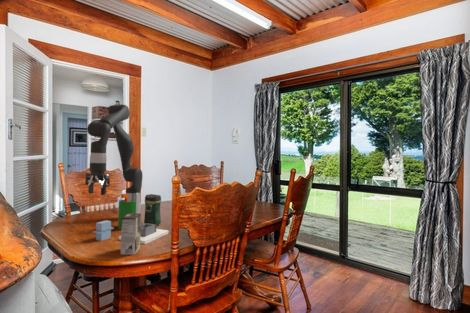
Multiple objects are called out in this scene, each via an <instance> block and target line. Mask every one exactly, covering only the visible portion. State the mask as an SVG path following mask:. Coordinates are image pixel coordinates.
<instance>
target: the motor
mask: <svg viewBox="0 0 470 313" xmlns="http://www.w3.org/2000/svg"><path fill="white" fill-rule="evenodd" d="M127 213H136V201H133V202H129V200H128V195H127V194H126V193H122V194H121V199H120V200H119V201H118V215H117V216H118V218H117V229H119V230H121V223H122V217H123V216H125V215H126V214H127Z"/></svg>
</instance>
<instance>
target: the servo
mask: <svg viewBox="0 0 470 313" xmlns="http://www.w3.org/2000/svg"><path fill="white" fill-rule="evenodd" d="M95 224H96V225H95V229H96V230H94V231H92V234H95V241H106V240H108V239H110V238H111V235H112V230H114V229H115V227H112V220H102V221H98V222H96V223H95Z"/></svg>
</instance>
